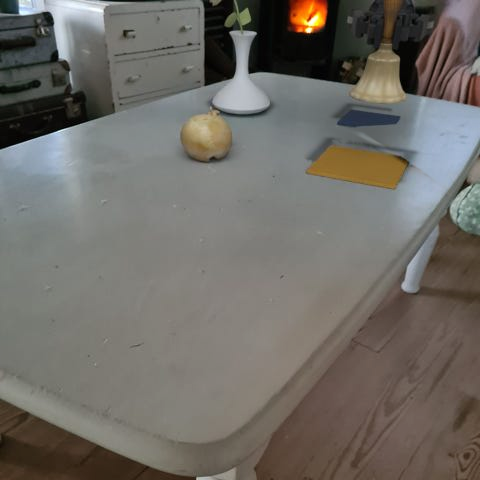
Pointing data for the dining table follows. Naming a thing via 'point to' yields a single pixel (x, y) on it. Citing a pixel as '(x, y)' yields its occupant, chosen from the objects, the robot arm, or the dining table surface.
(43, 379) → the dining table surface
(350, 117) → the blue mat
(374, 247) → the dining table surface
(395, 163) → the ochre mat
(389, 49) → the hand bell
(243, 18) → the flower in vase
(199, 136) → the onion
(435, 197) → the dining table surface
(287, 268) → the dining table surface
